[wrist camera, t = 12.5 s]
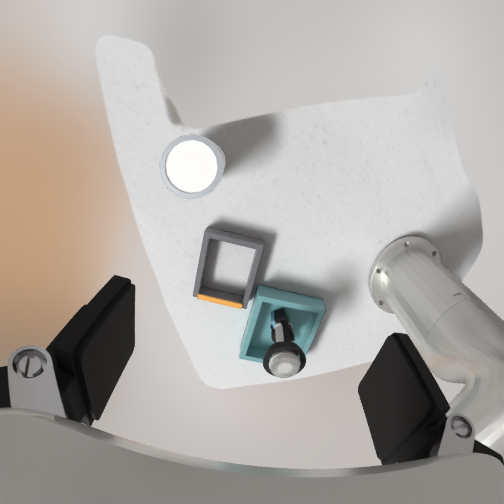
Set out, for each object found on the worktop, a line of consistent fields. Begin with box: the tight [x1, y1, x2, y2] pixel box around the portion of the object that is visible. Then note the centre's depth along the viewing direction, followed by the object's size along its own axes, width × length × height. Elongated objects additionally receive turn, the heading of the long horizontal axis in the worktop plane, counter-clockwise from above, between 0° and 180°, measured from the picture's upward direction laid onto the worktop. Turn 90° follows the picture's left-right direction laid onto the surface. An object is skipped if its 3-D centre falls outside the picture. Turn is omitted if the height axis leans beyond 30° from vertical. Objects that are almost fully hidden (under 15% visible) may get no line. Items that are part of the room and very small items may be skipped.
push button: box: [263, 308, 306, 378], centre depth 38 cm, size 7×5×10 cm
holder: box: [193, 227, 264, 309], centre depth 39 cm, size 8×10×2 cm
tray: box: [239, 285, 326, 363], centre depth 42 cm, size 10×12×3 cm
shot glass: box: [159, 134, 226, 199], centre depth 32 cm, size 7×7×7 cm
